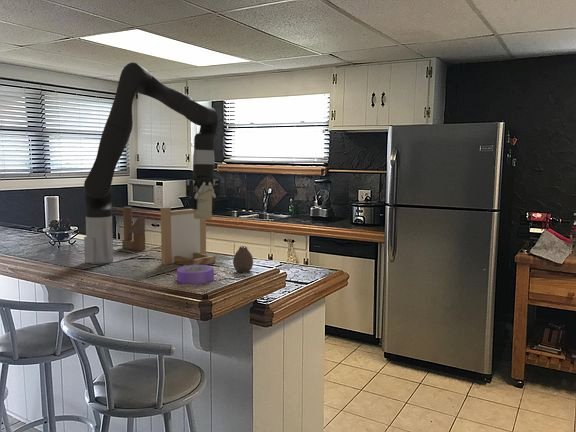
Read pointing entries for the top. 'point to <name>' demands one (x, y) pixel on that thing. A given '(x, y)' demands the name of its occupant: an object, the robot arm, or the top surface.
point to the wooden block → (133, 231)
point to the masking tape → (195, 274)
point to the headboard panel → (181, 234)
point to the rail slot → (195, 259)
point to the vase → (243, 260)
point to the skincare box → (204, 203)
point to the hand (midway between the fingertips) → (202, 208)
